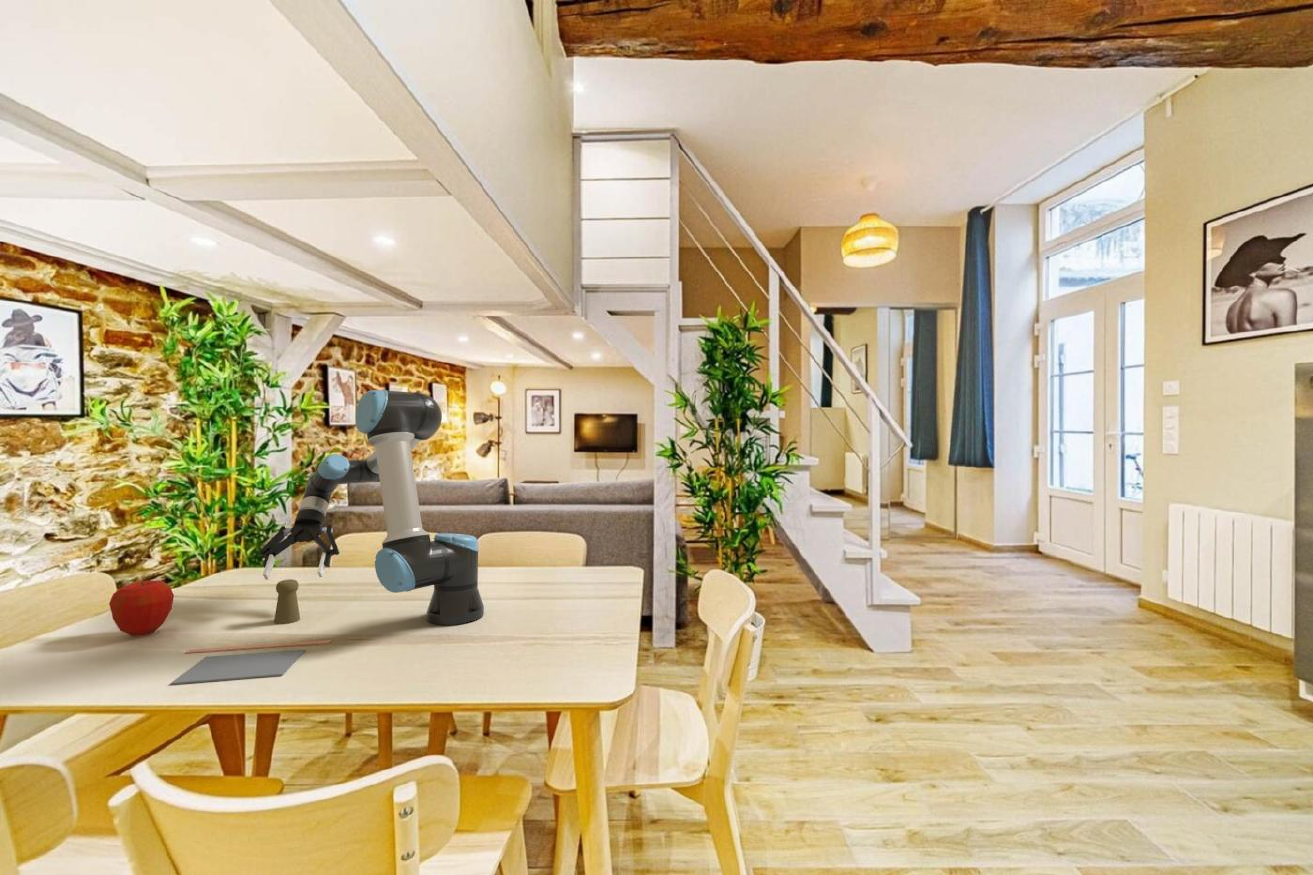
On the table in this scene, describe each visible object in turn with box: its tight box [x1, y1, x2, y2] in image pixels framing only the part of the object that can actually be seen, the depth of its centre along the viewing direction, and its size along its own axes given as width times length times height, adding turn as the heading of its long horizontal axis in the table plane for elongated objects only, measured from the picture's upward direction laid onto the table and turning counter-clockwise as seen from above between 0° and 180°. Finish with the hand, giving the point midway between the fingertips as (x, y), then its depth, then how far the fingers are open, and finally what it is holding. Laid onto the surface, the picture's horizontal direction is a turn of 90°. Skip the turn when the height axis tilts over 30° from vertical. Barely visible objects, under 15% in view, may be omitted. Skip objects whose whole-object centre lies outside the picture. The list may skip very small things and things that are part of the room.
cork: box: [273, 579, 301, 625], centre depth 156 cm, size 6×6×11 cm
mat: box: [170, 649, 306, 686], centre depth 125 cm, size 20×14×1 cm
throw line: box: [184, 639, 332, 654], centre depth 137 cm, size 30×2×1 cm, turn 105°
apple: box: [108, 578, 175, 637], centre depth 144 cm, size 12×12×14 cm
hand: (293, 576), depth 162 cm, fingers open, 13 cm apart
